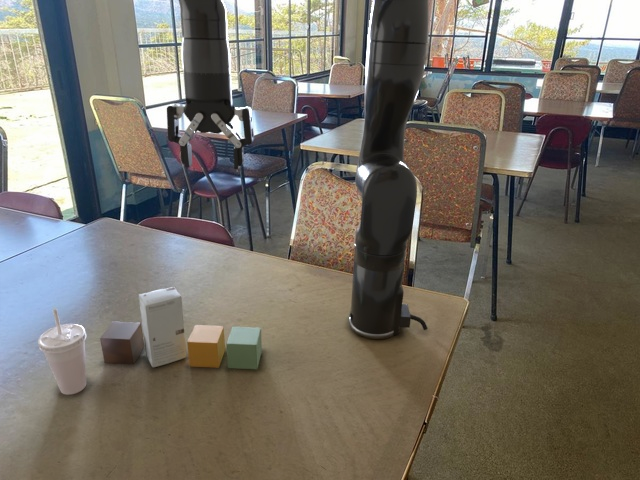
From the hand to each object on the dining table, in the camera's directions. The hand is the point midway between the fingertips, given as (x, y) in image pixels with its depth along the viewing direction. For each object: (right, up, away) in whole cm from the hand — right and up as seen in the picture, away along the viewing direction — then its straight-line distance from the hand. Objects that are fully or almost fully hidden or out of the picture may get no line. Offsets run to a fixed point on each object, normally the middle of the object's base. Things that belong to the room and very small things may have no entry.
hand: (213, 167), depth 84 cm
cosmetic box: (-8, -33, -1) cm, 34 cm away
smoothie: (-20, -36, -8) cm, 42 cm away
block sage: (+6, -33, -1) cm, 34 cm away
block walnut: (-15, -33, 0) cm, 36 cm away
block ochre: (-1, -33, -1) cm, 33 cm away
